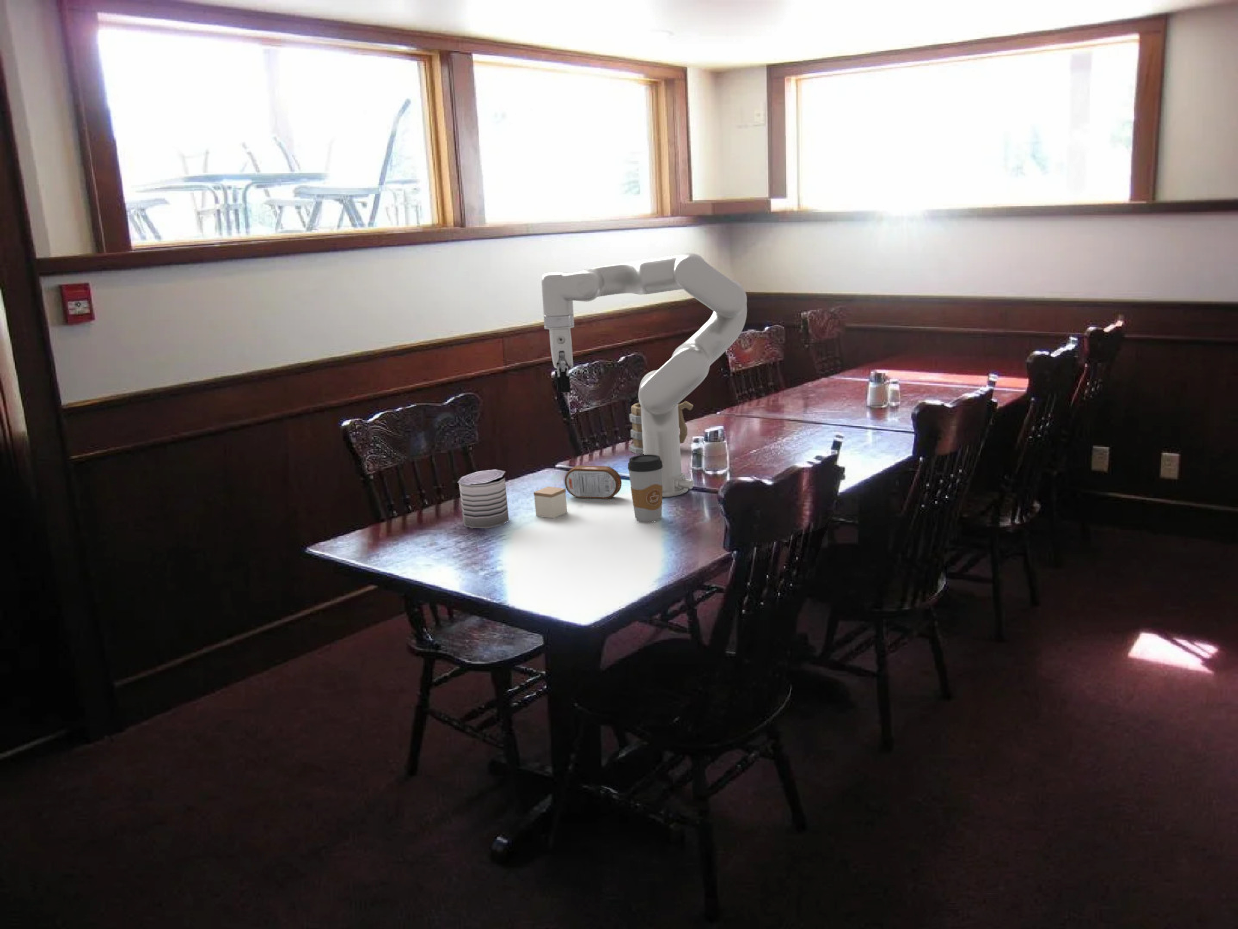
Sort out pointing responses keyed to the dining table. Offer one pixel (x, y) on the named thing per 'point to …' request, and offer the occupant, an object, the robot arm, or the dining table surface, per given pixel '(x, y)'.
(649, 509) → the coffee cup
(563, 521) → the dining table surface
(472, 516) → the can
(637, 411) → the tankard
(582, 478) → the tin
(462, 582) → the dining table surface
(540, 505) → the cream block
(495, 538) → the dining table surface
